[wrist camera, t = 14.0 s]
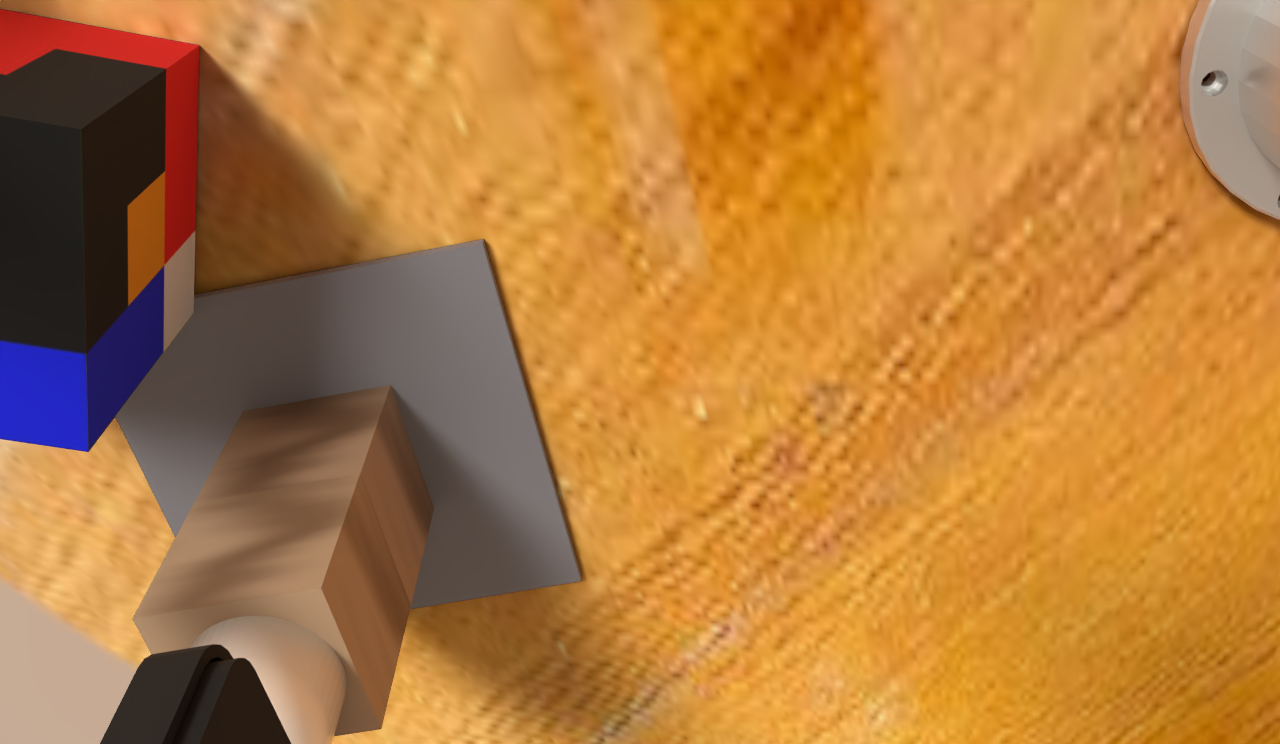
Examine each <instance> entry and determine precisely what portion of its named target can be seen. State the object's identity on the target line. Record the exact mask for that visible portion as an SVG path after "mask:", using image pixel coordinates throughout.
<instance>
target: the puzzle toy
mask: <svg viewBox="0 0 1280 744" xmlns="http://www.w3.org/2000/svg"><path fill="white" fill-rule="evenodd" d="M198 90H199V45H195V44H190V43H184V42H179V41H173V40H168V39H162V38H157V37H151V36H146V35H140V34H135V33H129V32H124V31H118V30H113V29H107V28H102V27H96V26H91V25H85V24H80V23H74V22H69V21H63V20H58V19H52V18H47V17H41V16H36V15H30V14H25V13H19V12H14V11H8V10H3V9H0V439H4V440H11V441H18V442H25V443H31V444H38V445H45V446H52V447H58V448H65V449H72V450H79V451H85V452H89V451H90V449H91V448H92V447H93V445H94V444H95V443H96V441H97V440H98V439H99V437H100V436H101V435H102V433H103V432H104V431H105V429H106V428H107V427H108V425H109V424H110V423H111V421H112V420H113V419H114V417H115V416H116V415H117V413H118V412H119V411H120V410H121V408H122V407H123V406H124V404H125V403H126V402H127V400H128V399H129V398H130V396H131V395H132V394H133V392H134V391H135V390H136V388H137V387H138V386H139V384H140V383H141V382H142V380H143V379H144V378H145V376H146V375H147V374H148V372H149V371H150V370H151V368H152V367H153V366H154V364H155V363H156V362H157V361H158V359H159V358H160V357H161V355H162V354H163V353H164V351H165V350H166V349H167V347H168V346H169V345H170V343H171V342H172V341H173V339H174V338H175V337H176V335H177V334H178V333H179V331H180V330H181V329H182V327H183V326H184V325H185V323H186V322H187V321H188V319H189V318H190V317H191V315H192V314H193V313H194V277H195V230H196V183H197V137H198Z"/></svg>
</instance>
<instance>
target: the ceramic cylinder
mask: <svg viewBox="0 0 1280 744" xmlns="http://www.w3.org/2000/svg"><path fill="white" fill-rule="evenodd" d="M211 644H218V645H222V646H223V647H224V648H226V649H227V650H228V651H229V652H230V654H231V655H232V657H233V658H234V659H235V658H245V659H247V660H248V661H250V662H251V664H252V666H253V667H254V669H255V670H256V672H257V674H258V677H259V679H260V681H261V683H262V685H263V687H264V689H265V691H266V693H267V695H268V697H269V699H270V701H271V703H272V705H273V707H274V709H275V711H276V713H277V715H278V717H279V719H280V721H281V724H282V726H283V728H284V730H285V732H286V734H287V736H288V738H289V740H290V742H291V744H332V741H333V737H334V733H335V730H336V726H337V723H338V719H339V716H340V712H341V709H342V705H343V701H344V698H345V694H346V689H347V678H346V672H345V669H344V666H343V664H342V662H341V660H340V658H339V656H338V655H337V654H336V652H335V651H334V650H333V649H332V647H331V646H330V645H329V644H328V643H327V642H326V641H324V640H323V639H322V638H321V637H320V636H318V635H317V634H315V633H314V632H312V631H310V630H308V629H306V628H305V627H303V626H300V625H298V624H295V623H293V622H290V621H287V620H283V619H279V618H274V617H267V616H243V617H236V618H231V619H227V620H224V621H222V622H219V623H217V624H215V625H213V626H211V627H209V628H208V629H206V630H205V631H203V632H202V633H201V634H200V635H199V636H198V637H197V638H196V639H195V641H194V642H193V643H192V645H191V647H190V648H193V647H199V646H205V645H211Z"/></svg>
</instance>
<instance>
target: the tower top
mask: <svg viewBox="0 0 1280 744" xmlns="http://www.w3.org/2000/svg"><path fill="white" fill-rule="evenodd" d="M409 610H410V603H409V600H408V598H407V595H406V592H405V590H404V587H403V585H402V582H401V579H400V577H399V574H398V572H397V569H396V566H395V564H394V561H393V559H392V556H391V553H390V551H389V548H388V545H387V543H386V540H385V538H384V535H383V532H382V530H381V527H380V525H379V522H378V519H377V517H376V514H375V511H374V509H373V506H372V504H371V501H370V498H369V496H368V493H367V491H366V488H365V485H364V483H363V480H362V477H361V475H360V474H355V475H349V476H344V477H338V478H332V479H326V480H320V481H315V482H309V483H303V484H297V485H291V486H286V487H280V488H274V489H268V490H262V491H257V492H251V493H245V494H239V495H233V496H228V497H222V498H216V499H210V500H204V501H198V502H194V504H193V506H192V508H191V510H190V511H189V513H188V515H187V517H186V519H185V521H184V523H183V525H182V527H181V528H180V530H179V532H178V534H177V536H176V538H175V540H174V542H173V543H172V545H171V547H170V549H169V551H168V553H167V555H166V557H165V558H164V560H163V562H162V564H161V566H160V568H159V570H158V572H157V574H156V575H155V577H154V579H153V581H152V583H151V585H150V587H149V589H148V590H147V592H146V594H145V596H144V598H143V600H142V602H141V604H140V606H139V607H138V609H137V611H136V613H135V615H134V617H133V621H134V623H135V625H136V626H137V628H138V630H139V632H140V634H141V636H142V638H143V639H144V641H145V643H146V645H147V647H148V649H149V651H150V653H151V654H156V653H162V652H168V651H175V650H181V649H187V648H190V647H191V645H192V643H193V642H194V641H195V639H196V638H197V637H198V636H199V635H200V634H201V633H202V632H203V631H205V630H206V629H208V628H209V627H211V626H213V625H215V624H217V623H219V622H222V621H224V620H227V619H231V618H236V617H243V616H267V617H274V618H279V619H283V620H287V621H290V622H293V623H295V624H298V625H300V626H303V627H305V628H306V629H308V630H310V631H312V632H314V633H315V634H317V635H318V636H320V637H321V638H322V639H323V640H324V641H326V642H327V643H328V644H329V645H330V646H331V647H332V649H333V650H334V651H335V652H336V654H337V655H338V656H339V658H340V660H341V662H342V664H343V666H344V669H345V672H346V678H347V689H346V694H345V698H344V701H343V705H342V709H341V712H340V716H339V719H338V723H337V726H336V730H335V733H334V736H339V735H345V734H352V733H358V732H365V731H372V730H378V729H381V728H382V724H383V719H384V715H385V711H386V707H387V703H388V698H389V694H390V690H391V686H392V682H393V677H394V673H395V669H396V665H397V661H398V656H399V652H400V648H401V644H402V640H403V635H404V631H405V627H406V623H407V619H408V614H409Z"/></svg>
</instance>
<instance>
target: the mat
mask: <svg viewBox="0 0 1280 744" xmlns="http://www.w3.org/2000/svg"><path fill="white" fill-rule="evenodd" d="M387 385H391V387H392V390H393V393H394V396H395V399H396V401H397V404H398V407H399V410H400V413H401V416H402V418H403V421H404V424H405V427H406V430H407V433H408V436H409V438H410V441H411V444H412V447H413V450H414V453H415V455H416V458H417V461H418V464H419V467H420V470H421V472H422V475H423V478H424V481H425V484H426V487H427V489H428V492H429V495H430V498H431V501H432V504H433V506H434V511H433V515H432V519H431V523H430V528H429V532H428V536H427V540H426V545H425V549H424V553H423V557H422V561H421V566H420V570H419V574H418V578H417V582H416V587H415V591H414V595H413V599H412V603H411V606H410V609H415V608H421V607H427V606H433V605H439V604H445V603H451V602H458V601H464V600H470V599H476V598H482V597H488V596H494V595H500V594H506V593H512V592H519V591H525V590H531V589H537V588H543V587H549V586H555V585H561V584H567V583H573V582H580V581H581V572H580V569H579V565H578V562H577V559H576V555H575V552H574V548H573V545H572V541H571V538H570V534H569V531H568V528H567V524H566V521H565V517H564V514H563V510H562V507H561V504H560V500H559V497H558V493H557V490H556V486H555V483H554V479H553V476H552V473H551V469H550V466H549V462H548V459H547V455H546V452H545V448H544V445H543V442H542V438H541V435H540V431H539V428H538V424H537V421H536V417H535V414H534V411H533V407H532V404H531V400H530V397H529V393H528V390H527V387H526V383H525V380H524V376H523V373H522V369H521V366H520V362H519V359H518V356H517V352H516V349H515V345H514V342H513V338H512V335H511V331H510V328H509V325H508V321H507V318H506V314H505V311H504V307H503V304H502V300H501V297H500V294H499V290H498V287H497V283H496V280H495V276H494V273H493V270H492V266H491V263H490V259H489V256H488V252H487V249H486V245H485V242H484V239H481V240H476V241H471V242H465V243H460V244H455V245H450V246H445V247H439V248H434V249H429V250H424V251H419V252H413V253H408V254H403V255H398V256H393V257H388V258H382V259H377V260H372V261H367V262H362V263H356V264H351V265H346V266H341V267H336V268H330V269H325V270H320V271H315V272H310V273H304V274H299V275H294V276H289V277H284V278H278V279H273V280H268V281H263V282H258V283H252V284H247V285H242V286H237V287H232V288H226V289H221V290H216V291H211V292H206V293H200V294H195V295H194V313H193V314H192V315H191V317H190V318H189V319H188V321H187V322H186V323H185V325H184V326H183V327H182V329H181V330H180V331H179V333H178V334H177V335H176V337H175V338H174V339H173V341H172V342H171V343H170V345H169V346H168V347H167V349H166V350H165V351H164V353H163V354H162V355H161V357H160V358H159V359H158V361H157V362H156V363H155V364H154V366H153V367H152V368H151V370H150V371H149V372H148V374H147V375H146V376H145V378H144V379H143V380H142V382H141V383H140V384H139V386H138V387H137V388H136V390H135V391H134V392H133V394H132V395H131V396H130V398H129V399H128V400H127V402H126V403H125V404H124V406H123V407H122V408H121V410H120V411H119V412H118V413H117V415H116V416H115V417H116V419H117V421H118V423H119V425H120V427H121V429H122V431H123V433H124V435H125V437H126V439H127V441H128V443H129V445H130V447H131V449H132V451H133V453H134V455H135V457H136V459H137V461H138V463H139V465H140V467H141V469H142V471H143V473H144V476H145V478H146V480H147V482H148V484H149V486H150V488H151V490H152V492H153V494H154V496H155V498H156V500H157V502H158V504H159V506H160V508H161V510H162V512H163V514H164V516H165V518H166V520H167V522H168V524H169V526H170V528H171V530H172V532H173V534H174V536H175V538H176V536H177V534H178V532H179V530H180V528H181V527H182V525H183V523H184V521H185V519H186V517H187V515H188V513H189V511H190V510H191V508H192V506H193V504H194V502H195V501H196V499H197V497H198V495H199V493H200V491H201V489H202V488H203V486H204V484H205V482H206V480H207V478H208V476H209V474H210V472H211V471H212V469H213V467H214V465H215V463H216V461H217V459H218V457H219V456H220V454H221V452H222V450H223V448H224V446H225V444H226V442H227V440H228V439H229V437H230V435H231V433H232V431H233V429H234V427H235V425H236V424H237V422H238V420H239V418H240V416H241V414H242V412H243V411H247V410H253V409H259V408H264V407H270V406H275V405H281V404H286V403H292V402H298V401H303V400H309V399H314V398H320V397H325V396H331V395H336V394H342V393H348V392H353V391H359V390H364V389H370V388H375V387H381V386H387Z"/></svg>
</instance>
